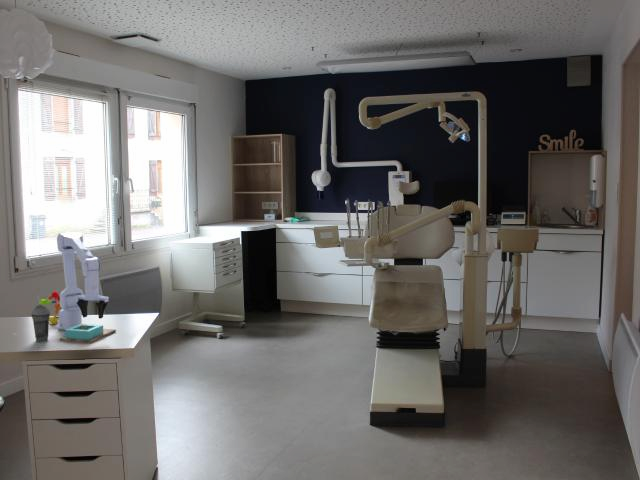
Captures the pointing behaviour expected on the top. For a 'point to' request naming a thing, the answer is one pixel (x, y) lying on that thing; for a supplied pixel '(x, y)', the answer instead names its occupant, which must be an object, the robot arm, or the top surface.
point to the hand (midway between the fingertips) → (92, 317)
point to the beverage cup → (41, 322)
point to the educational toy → (57, 306)
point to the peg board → (84, 327)
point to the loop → (84, 331)
